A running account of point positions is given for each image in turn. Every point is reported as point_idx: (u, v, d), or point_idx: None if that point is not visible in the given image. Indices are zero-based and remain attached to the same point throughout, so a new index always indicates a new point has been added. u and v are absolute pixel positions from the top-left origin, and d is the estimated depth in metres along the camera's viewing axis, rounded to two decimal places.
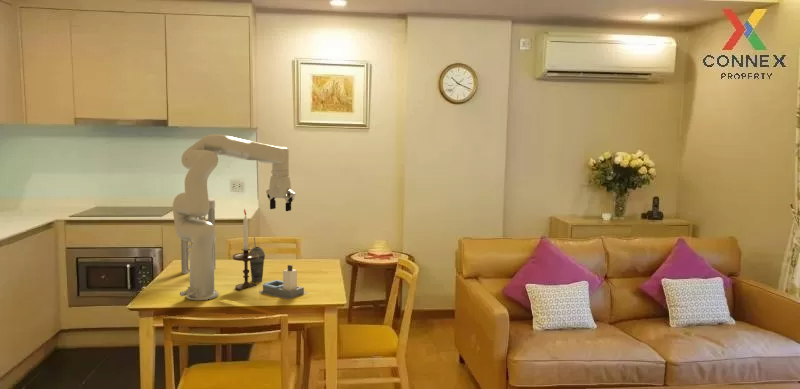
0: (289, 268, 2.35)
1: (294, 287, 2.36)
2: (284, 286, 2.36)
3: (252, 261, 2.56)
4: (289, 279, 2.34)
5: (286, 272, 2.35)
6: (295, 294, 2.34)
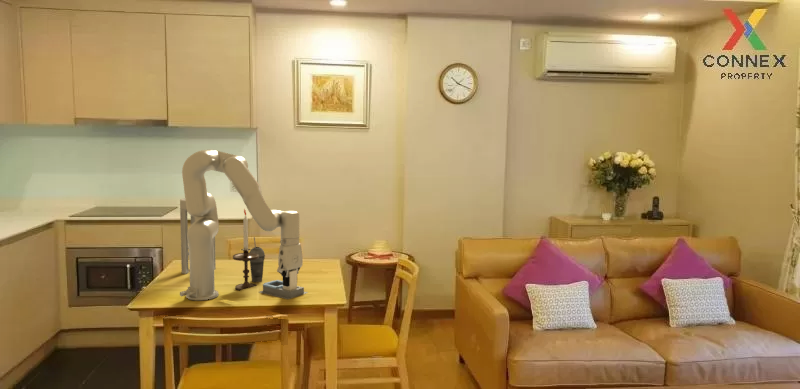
0: None
1: (294, 287, 2.36)
2: (284, 286, 2.36)
3: (252, 261, 2.56)
4: (289, 279, 2.34)
5: None
6: (295, 294, 2.34)
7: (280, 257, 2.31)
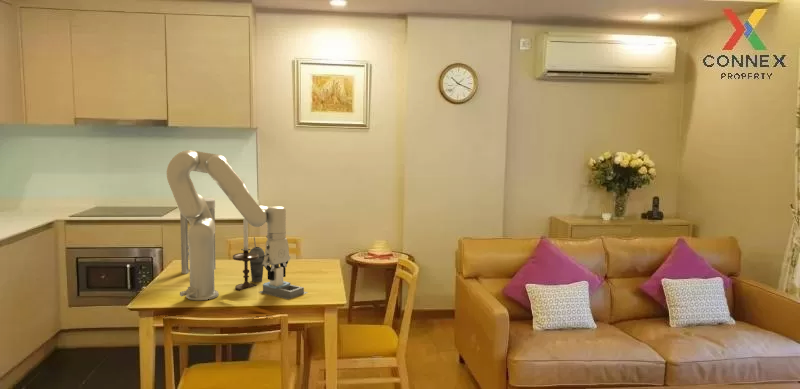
0: (275, 265, 2.39)
1: (280, 284, 2.40)
2: (271, 283, 2.40)
3: (252, 261, 2.56)
4: (275, 276, 2.38)
5: None
6: (295, 294, 2.34)
7: (267, 252, 2.35)
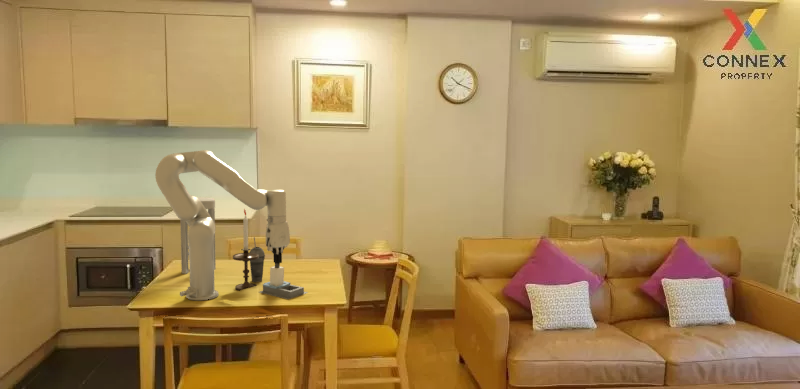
0: (276, 265, 2.39)
1: (281, 284, 2.40)
2: (271, 283, 2.40)
3: (252, 261, 2.56)
4: (276, 276, 2.38)
5: (273, 269, 2.39)
6: (295, 294, 2.34)
7: (267, 235, 2.35)
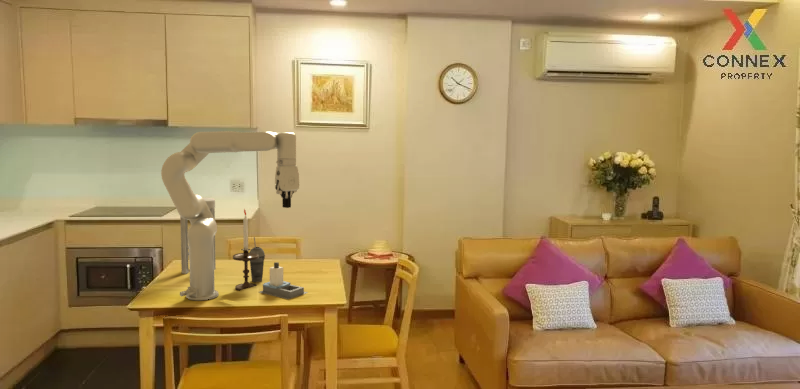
0: (275, 265, 2.39)
1: (280, 284, 2.40)
2: (271, 283, 2.40)
3: (252, 261, 2.56)
4: (275, 276, 2.38)
5: (272, 269, 2.39)
6: (295, 294, 2.34)
7: (277, 178, 2.30)
